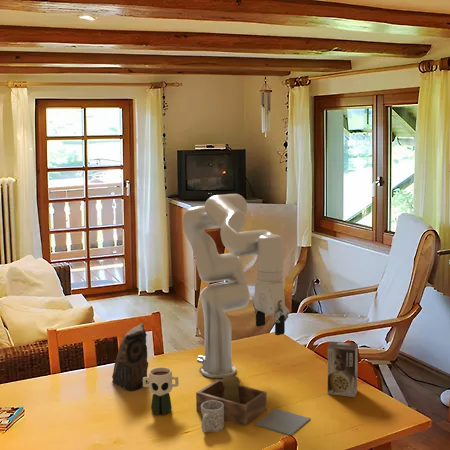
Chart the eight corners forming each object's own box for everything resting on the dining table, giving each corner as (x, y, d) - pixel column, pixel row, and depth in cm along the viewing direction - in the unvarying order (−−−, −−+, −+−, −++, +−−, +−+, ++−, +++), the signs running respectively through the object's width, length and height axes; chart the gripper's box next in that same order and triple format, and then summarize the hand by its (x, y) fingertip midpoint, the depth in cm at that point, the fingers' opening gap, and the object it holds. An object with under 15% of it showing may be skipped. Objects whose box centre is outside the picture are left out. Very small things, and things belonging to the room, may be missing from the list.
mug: (207, 419, 191) (206, 399, 190) (227, 423, 189) (227, 402, 188) (192, 435, 182) (192, 413, 181) (214, 439, 180) (213, 417, 179)
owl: (146, 374, 226) (144, 319, 223) (158, 387, 215) (156, 330, 212) (111, 381, 221) (108, 325, 218) (122, 394, 210) (119, 336, 206)
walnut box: (196, 410, 197) (196, 392, 196) (218, 396, 207) (218, 379, 206) (245, 425, 187) (245, 406, 186) (266, 410, 197) (266, 392, 196)
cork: (239, 415, 194) (239, 381, 192) (219, 414, 195) (219, 380, 193) (242, 407, 199) (242, 373, 198) (223, 405, 201) (223, 372, 199)
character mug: (142, 416, 194) (141, 376, 192) (145, 406, 201) (143, 367, 199) (178, 416, 194) (177, 375, 192) (179, 405, 201) (178, 366, 199)
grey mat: (255, 425, 188) (255, 423, 188) (275, 409, 198) (275, 408, 197) (291, 435, 181) (291, 434, 181) (310, 419, 191) (310, 418, 191)
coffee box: (357, 389, 211) (358, 343, 208) (355, 398, 205) (356, 350, 202) (330, 386, 214) (330, 340, 211) (326, 394, 208) (327, 347, 205)
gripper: (243, 271, 197) (243, 324, 200) (277, 283, 183) (277, 340, 186) (263, 268, 201) (263, 320, 204) (298, 279, 187) (297, 335, 190)
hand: (269, 329), depth 195 cm, fingers open, 9 cm apart
